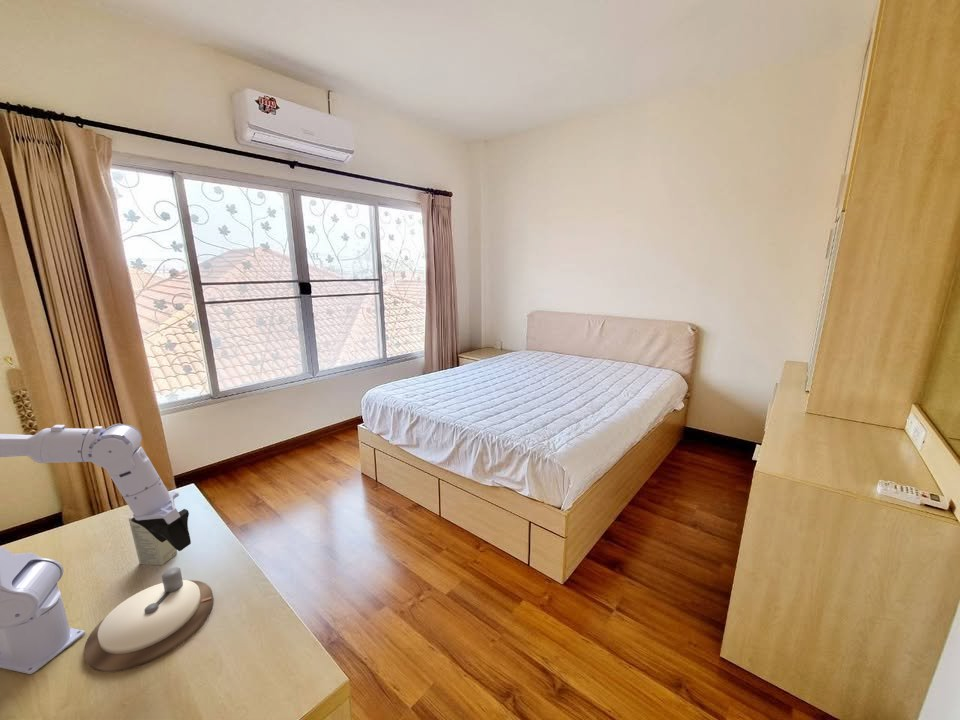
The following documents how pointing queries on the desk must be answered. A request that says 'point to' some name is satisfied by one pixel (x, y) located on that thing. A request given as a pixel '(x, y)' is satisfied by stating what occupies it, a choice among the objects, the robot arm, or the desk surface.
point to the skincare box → (150, 546)
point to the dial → (150, 615)
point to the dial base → (127, 661)
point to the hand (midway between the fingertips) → (175, 542)
